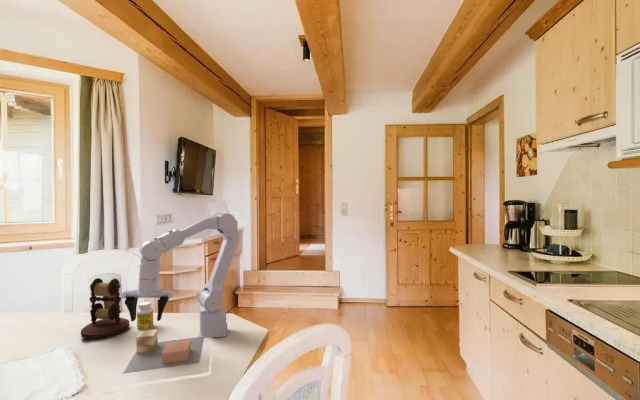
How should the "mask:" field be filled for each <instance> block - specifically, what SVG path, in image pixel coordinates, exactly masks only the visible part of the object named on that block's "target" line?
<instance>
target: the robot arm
mask: <svg viewBox="0 0 640 400" xmlns="http://www.w3.org/2000/svg"><path fill="white" fill-rule="evenodd" d="M238 225H239V223H238V221H237V219H236V218H235V216H234V215H233V214H231V213H223V212H215V214H211V215H209V216H206V217H204V218H201V219H200V220H198V221H196V222H194V223H192V224H190V225H188V226H187V227H185V228H183V229H181V230H180V229H176V228H175V229H168V230H167V232H166V233H163V234H161V235H159V236H158V237H157V236H154V237H152V239H153V240H147V241H144V242H143V243H142V244H141V246H140V248H139V253H140V255H141V257H140V263H139V272H138V273H139V276H138V289H134V290H133V289H132V290H124V291H123V292H122V294H121V296H122V297H121V299H125V300H124V305H125V306H126V307H127V309H128V313H129V315H130V322H135V321H136V320H137V307H138V300H139V299H141V298H144V299H145V298H147V299H151V298H153V299H154V298H155V299H157V298H159V299H158V300H157V314H156V315H157V317H156V320H157V321H158V322H159V321H161V320H162V318H163V317H162V316H163V313H164V309H165V307H166V305H167V303H168V301H169V299H172V298H173V296H174V294H173V293H174V291H173V290H164V289H159V282H160V268H161V267H160V265H161V264H160V258H161V257H162V255H163V254H165V253H167V252H170V251H172V250H174V249H175V248H178V247H179V246H182V245H184V242H185V240H186V239H187V238H190V237H192V236H194V235H196V234H199V233H201V232H204V231H206V230H217V232H218V233H220V236H221V237H222V240H223V241H222V243H221V246H220V249H219V251H218V254H217V256H216V260H215V262H214V264H213V265H214V266H213V268H212V271H211V274H210V276H209V279H208V281H207V282H205V284H204V286H203V288H202V289H201V290H200V292H199V293H198V295H197V300H198V303H199V304H200V307H199V330H198V335H197V337H203V338H204V339H206V338H207V339H208V338H213V339H214V338H221V337H226V336H227V329H228V322H227V307H222V306H223V296H224V282H225V280H226V278H227V275H228V271H229V268H230V266H231V263H232V260H233V258H234V254H235V252H236V249H237V246H238V243H239V240H240V235H239V230H238V229H239V228H238Z"/></svg>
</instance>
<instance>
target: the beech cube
mask: <svg viewBox="0 0 640 400" xmlns="http://www.w3.org/2000/svg"><path fill="white" fill-rule="evenodd" d="M158 342H159V341H158V329H157V328H155V329H146V330H139V333H138V334H137V336H136V342H135V343H136V344H135V345H136V351H137V353H143V352H151V351H154V350H155V348H156V346H157V344H158Z"/></svg>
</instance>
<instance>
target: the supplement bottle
mask: <svg viewBox="0 0 640 400" xmlns="http://www.w3.org/2000/svg"><path fill="white" fill-rule="evenodd" d="M151 306H152V303H151V301H143V302H140V303H138V310H136V328H137V330H139V331H145V330H151V328H153V327H154V309H153V307H151Z"/></svg>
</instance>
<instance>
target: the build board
mask: <svg viewBox="0 0 640 400" xmlns="http://www.w3.org/2000/svg"><path fill="white" fill-rule="evenodd" d="M204 340H205V338H203V337H198V336H196V337H189V338H182V339H174V340H173V339H172V340H164V341H158V344H157V346H156V348H155V350H154V351H151V352H143V353H137V350H135V353H134V354H133V356H132V357H131V359H130V361H129V363H128V364H127V366H126V368H125V369H124V371H123V372H122V374H128V373H135V372H136V373H137V372H143V371H150V370H158V369H164V368H165V369H166V368H170V367H172V368H173V367H178V366H185V365H192V364H193V365H194V364H199V363H200V359H201V354H202V351H203V350H202V349H203V344H204Z"/></svg>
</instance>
